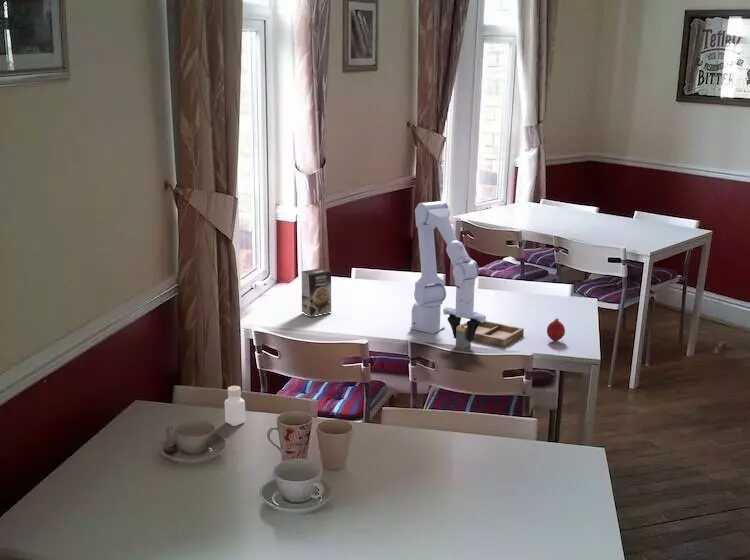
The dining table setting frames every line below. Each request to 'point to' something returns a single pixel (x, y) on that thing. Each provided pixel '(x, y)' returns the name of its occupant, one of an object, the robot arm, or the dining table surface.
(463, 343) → the battery cell
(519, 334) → the walnut tray
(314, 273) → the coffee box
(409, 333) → the dining table surface
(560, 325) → the onion
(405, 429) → the dining table surface
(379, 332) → the dining table surface
